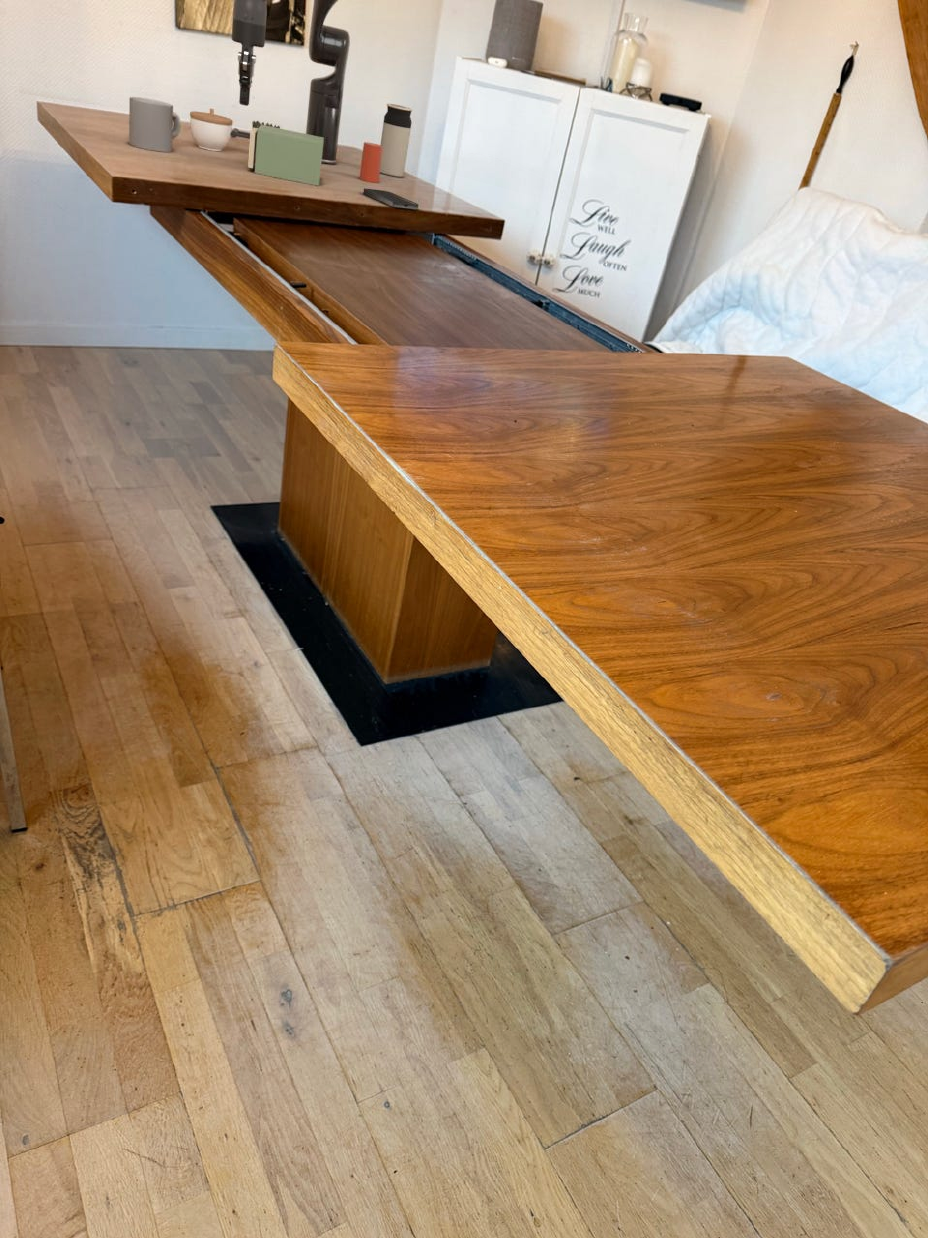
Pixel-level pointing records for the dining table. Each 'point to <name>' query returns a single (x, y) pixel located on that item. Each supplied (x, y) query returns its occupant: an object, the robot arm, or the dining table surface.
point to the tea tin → (371, 162)
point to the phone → (390, 199)
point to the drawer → (252, 145)
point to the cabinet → (288, 155)
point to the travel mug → (395, 140)
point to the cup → (257, 124)
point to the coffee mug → (152, 124)
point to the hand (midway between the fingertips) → (244, 104)
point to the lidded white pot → (210, 130)
